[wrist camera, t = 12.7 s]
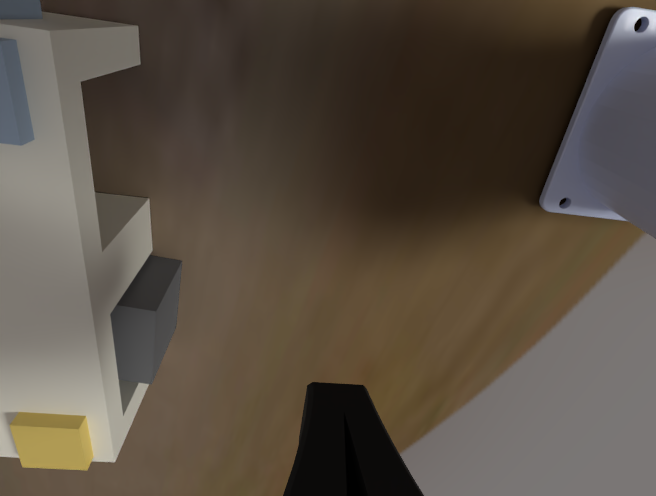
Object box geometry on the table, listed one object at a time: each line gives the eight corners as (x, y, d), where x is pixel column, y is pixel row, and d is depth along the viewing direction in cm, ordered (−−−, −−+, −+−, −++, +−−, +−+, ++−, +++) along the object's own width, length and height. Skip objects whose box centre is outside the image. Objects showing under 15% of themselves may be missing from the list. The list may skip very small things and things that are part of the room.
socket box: (134, -24, 15) (22, -48, 9) (160, 379, 24) (112, 498, 18) (-21, -49, 14) (-248, -91, 8) (65, 373, 23) (-16, 493, 17)
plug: (182, 259, 20) (156, 311, 17) (176, 325, 22) (151, 384, 19) (70, 239, 19) (18, 289, 16) (73, 309, 21) (27, 367, 18)
